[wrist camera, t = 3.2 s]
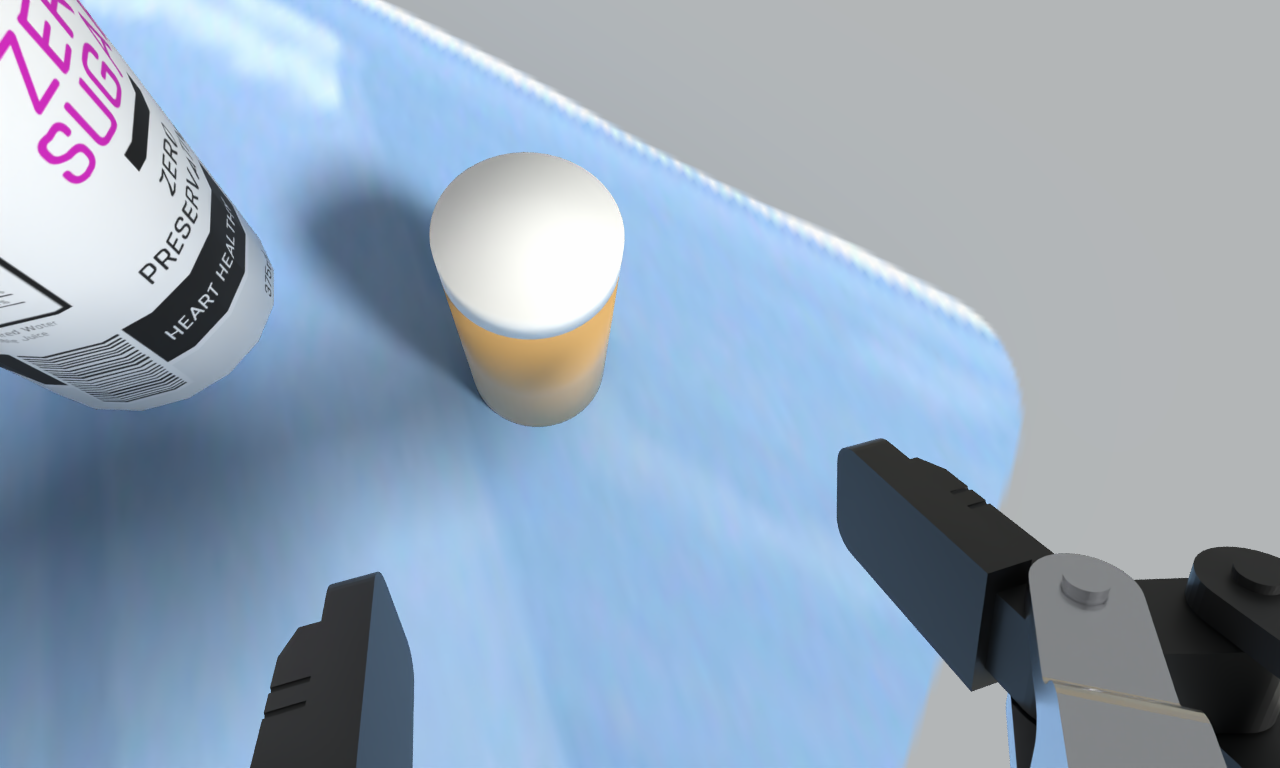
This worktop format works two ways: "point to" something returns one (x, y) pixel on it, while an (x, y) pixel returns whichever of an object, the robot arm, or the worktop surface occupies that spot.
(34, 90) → the supplement can
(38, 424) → the worktop surface
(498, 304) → the pill bottle
